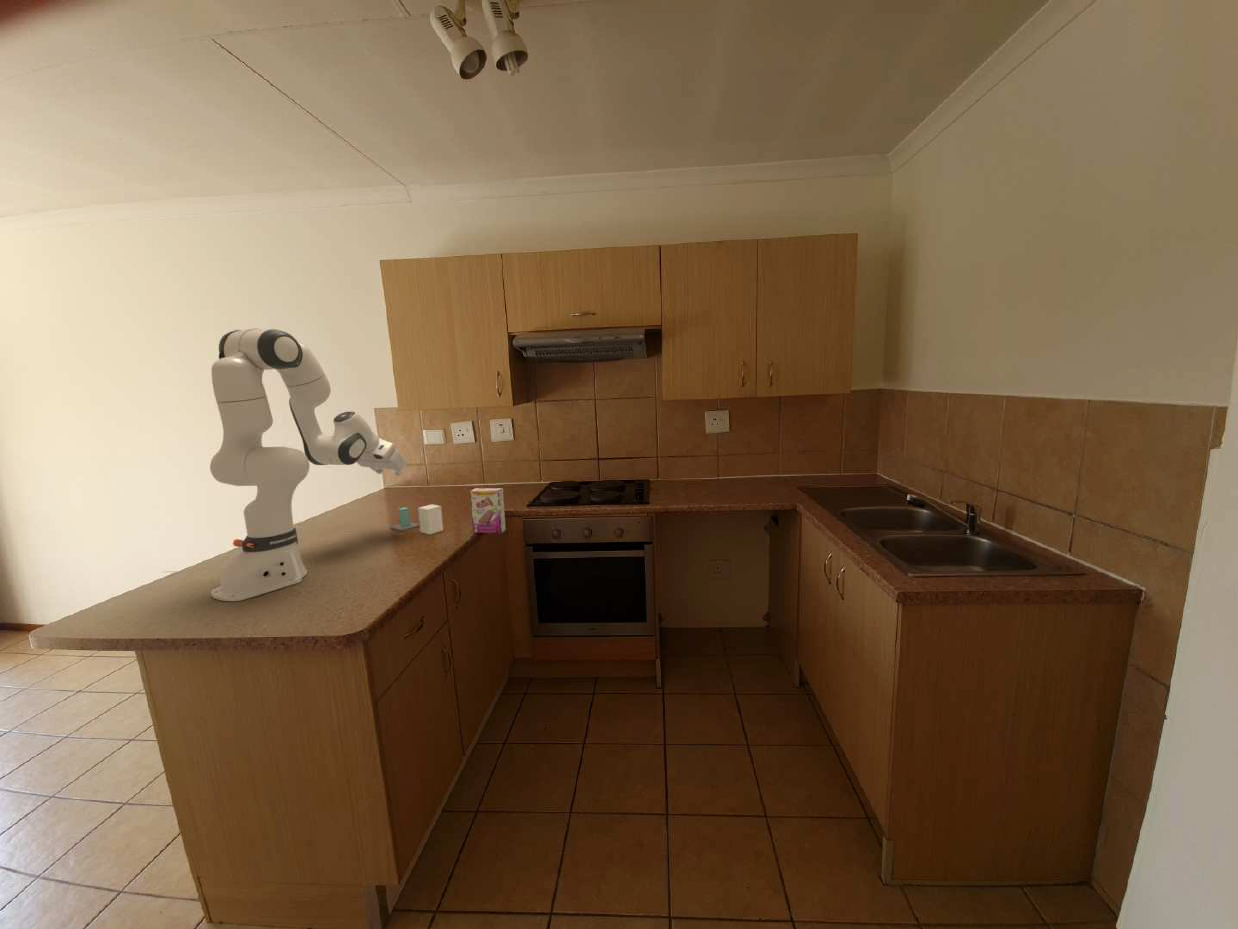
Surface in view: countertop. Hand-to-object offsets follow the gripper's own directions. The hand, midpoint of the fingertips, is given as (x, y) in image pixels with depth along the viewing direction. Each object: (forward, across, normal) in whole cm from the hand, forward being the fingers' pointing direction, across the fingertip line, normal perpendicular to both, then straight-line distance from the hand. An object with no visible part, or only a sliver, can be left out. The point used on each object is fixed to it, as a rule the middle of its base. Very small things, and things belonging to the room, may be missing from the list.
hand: (390, 473), depth 183 cm
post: (+20, +2, -11) cm, 23 cm away
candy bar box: (+20, +39, -7) cm, 44 cm away
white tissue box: (+18, +16, -12) cm, 27 cm away
